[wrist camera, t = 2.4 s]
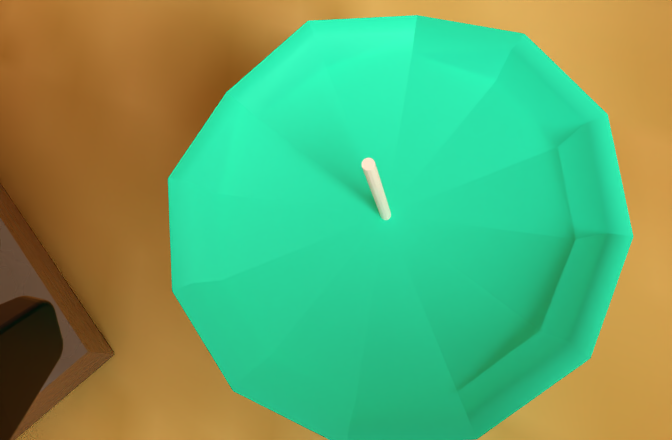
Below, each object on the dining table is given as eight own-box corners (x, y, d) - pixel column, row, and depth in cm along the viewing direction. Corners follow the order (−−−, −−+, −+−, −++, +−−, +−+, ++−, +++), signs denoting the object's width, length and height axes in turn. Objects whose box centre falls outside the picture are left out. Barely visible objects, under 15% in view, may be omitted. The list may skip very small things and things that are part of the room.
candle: (568, 290, 17) (812, 102, 6) (436, 462, 17) (416, 629, 5) (400, 169, 19) (335, -158, 8) (276, 321, 18) (-1, 215, 7)
